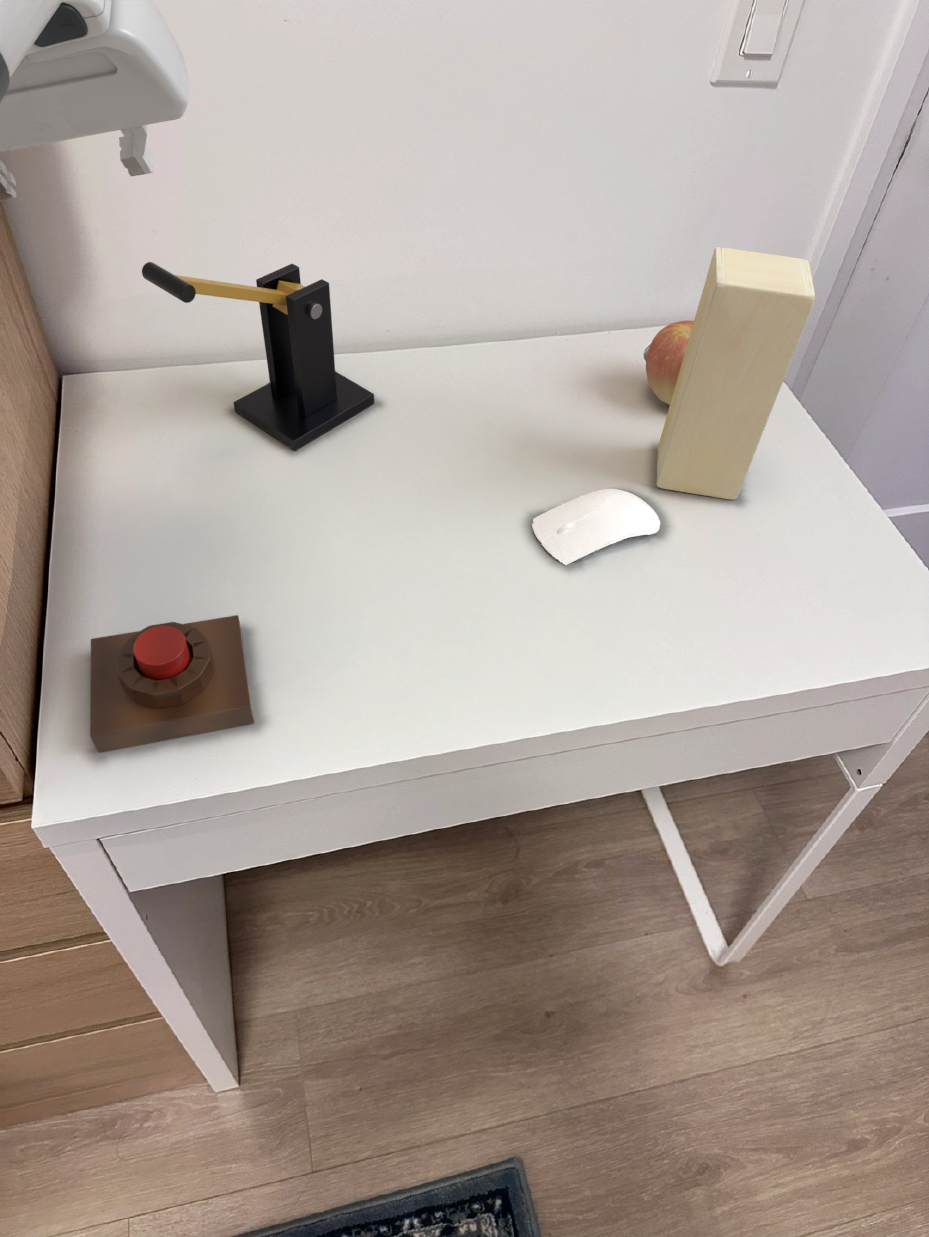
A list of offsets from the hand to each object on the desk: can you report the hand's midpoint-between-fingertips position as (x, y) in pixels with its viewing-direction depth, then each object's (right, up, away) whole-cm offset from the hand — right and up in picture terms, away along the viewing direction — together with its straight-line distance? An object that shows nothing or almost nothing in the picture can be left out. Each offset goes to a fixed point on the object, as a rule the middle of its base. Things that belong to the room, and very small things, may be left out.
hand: (74, 179), depth 58 cm
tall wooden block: (+49, -15, +28) cm, 59 cm away
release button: (+4, -32, +5) cm, 33 cm away
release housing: (+4, -35, +8) cm, 36 cm away
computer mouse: (+38, -21, +22) cm, 49 cm away
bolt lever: (+6, -2, +18) cm, 19 cm away
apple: (+49, -5, +37) cm, 62 cm away
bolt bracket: (+10, -8, +32) cm, 34 cm away
